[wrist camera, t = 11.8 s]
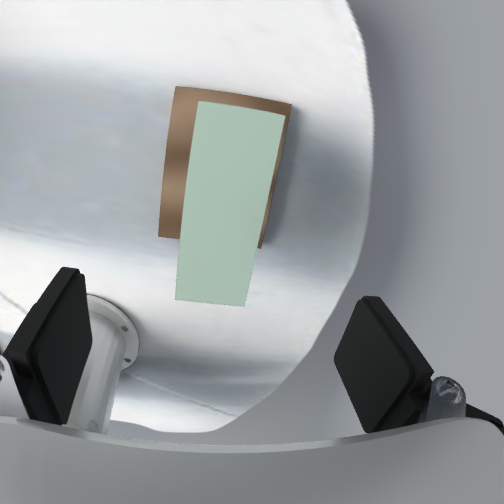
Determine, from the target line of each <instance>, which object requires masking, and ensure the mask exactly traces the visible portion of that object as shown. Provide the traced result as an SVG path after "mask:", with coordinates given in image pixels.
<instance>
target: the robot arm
mask: <svg viewBox="0 0 504 504" xmlns="http://www.w3.org/2000/svg"><path fill="white" fill-rule="evenodd" d="M138 350H139V337H138V334H137V331H136V329H135V327H134V325H133V323H132V322H131V321H130V320H129V318H128V317H127V316H126V315H125V314H124V313H123V312H122V311H121V310H120V309H118V308H117V307H115V306H114V305H113V304H111V303H109V302H107V301H105V300H103V299H101V298H98V297H95V296H91V295H87V294H86V284H85V276H84V274H80V271H79V269H76V268H69V267H62V268H61V269H60V270H59V271H58V273H57V274H56V276H55V277H54V278H53V280H52V281H51V283H50V284H49V285H48V287H47V288H46V290H45V291H44V292H43V294H42V295H41V297H40V298H39V300H38V301H37V303H35V304H34V305H33V306H32V308H31V309H30V311H29V312H28V314H27V316H26V317H25V319H24V320H23V322H22V323H21V325H20V326H19V328H18V330H17V331H16V333H15V335H14V336H13V338H12V340H11V341H10V343H9V345H8V346H7V348H6V350H5V351H4V353H3V355H2V356H1V355H0V504H504V426H503V423H502V421H501V420H500V419H498V418H496V417H494V416H492V415H490V414H488V413H486V412H483V411H481V410H479V409H477V408H475V407H473V406H471V405H469V404H466V394H465V392H464V389H463V388H462V387H461V386H460V384H459V383H457V382H456V381H455V380H453V379H451V378H449V377H445V376H440V377H436V378H435V379H434V380H433V381H432V380H431V379H430V377H431V376H432V374H433V373H434V371H433V369H432V368H431V366H430V365H429V364H428V362H427V360H426V359H425V358H424V356H423V355H422V353H421V352H420V351H419V349H418V348H417V346H416V345H415V344H414V342H413V341H412V340H411V338H410V337H409V336H408V334H407V333H406V331H405V330H404V329H403V327H402V326H401V325H400V323H399V322H398V321H397V319H396V318H395V317H394V315H393V314H392V313H391V311H390V310H389V309H388V307H387V306H386V305H385V303H384V302H383V301H382V300H381V298H380V297H376V296H364V297H362V299H361V300H359V301H358V302H357V304H356V306H355V308H354V311H353V313H352V316H351V318H350V320H349V323H348V325H347V328H346V330H345V332H344V335H343V337H342V339H341V341H340V344H339V346H338V348H337V350H336V352H335V356H334V362H335V365H336V368H337V370H338V372H339V374H340V377H341V379H342V381H343V383H344V386H345V388H346V390H347V393H348V395H349V397H350V400H351V402H352V404H353V406H354V409H355V411H356V413H357V415H358V418H359V420H360V423H361V425H362V427H363V430H364V431H365V432H366V433H368V434H364V435H358V436H351V437H344V438H338V439H329V440H321V441H311V442H301V443H288V444H272V445H198V444H197V445H195V444H181V443H167V442H157V441H148V440H140V439H132V438H125V437H119V436H112V435H107V431H108V426H109V421H110V417H111V412H112V407H113V403H114V398H115V394H116V389H117V385H118V380H119V376H120V372H121V370H123V369H125V368H127V367H129V366H130V365H131V364H132V363H133V362H134V361H135V359H136V357H137V354H138Z"/></svg>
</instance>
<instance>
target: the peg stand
mask: <svg viewBox="0 0 504 504" xmlns="http://www.w3.org/2000/svg"><path fill="white" fill-rule="evenodd" d="M198 101H206V102H213V103H220V104H227V105H234V106H240V107H246V108H252V109H257V110H263V111H268V112H272V113H276V114H280V115H284V116H285V120H284V125H283V130H282V134H281V139H280V144H279V148H278V153H277V158H276V163H275V167H274V172H273V177H272V181H271V186H270V191H269V195H268V200H267V205H266V209H265V214H264V219H263V223H262V228H261V233H260V237H259V242H258V246H257V248H260V249H261V246H262V241H263V237H264V232H265V228H266V223H267V218H268V214H269V209H270V205H271V200H272V195H273V191H274V186H275V181H276V177H277V172H278V167H279V163H280V158H281V153H282V149H283V144H284V139H285V134H286V130H287V125H288V120H289V115H290V111H291V106H292V104H288V103H283V102H278V101H273V100H268V99H263V98H258V97H252V96H247V95H241V94H234V93H228V92H221V91H214V90H206V89H198V88H189V87H179V86H176V87H175V93H174V99H173V105H172V111H171V118H170V125H169V132H168V140H167V148H166V156H165V165H164V174H163V184H162V194H161V206H160V218H159V233H158V237H166V238H175V239H180V233H181V224H182V214H183V205H184V197H185V189H186V181H187V173H188V166H189V158H190V151H191V145H192V138H193V132H194V125H195V119H196V113H197V107H198Z"/></svg>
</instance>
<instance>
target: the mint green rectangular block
mask: <svg viewBox="0 0 504 504" xmlns="http://www.w3.org/2000/svg"><path fill="white" fill-rule="evenodd" d="M284 120H285V116H284V115H280V114H276V113H272V112H268V111H263V110H257V109H252V108H246V107H240V106H234V105H227V104H220V103H213V102H206V101H198V107H197V113H196V119H195V125H194V132H193V138H192V145H191V151H190V158H189V166H188V173H187V181H186V189H185V197H184V205H183V214H182V224H181V233H180V244H179V255H178V267H177V279H176V293H175V300H182V301H191V302H200V303H210V304H220V305H231V306H242V307H244V306H245V302H246V297H247V293H248V288H249V283H250V279H251V274H252V270H253V265H254V260H255V256H256V251H257V246H258V242H259V237H260V233H261V228H262V223H263V219H264V214H265V209H266V205H267V200H268V195H269V191H270V186H271V181H272V177H273V172H274V167H275V163H276V158H277V153H278V148H279V144H280V139H281V134H282V130H283V125H284Z"/></svg>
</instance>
